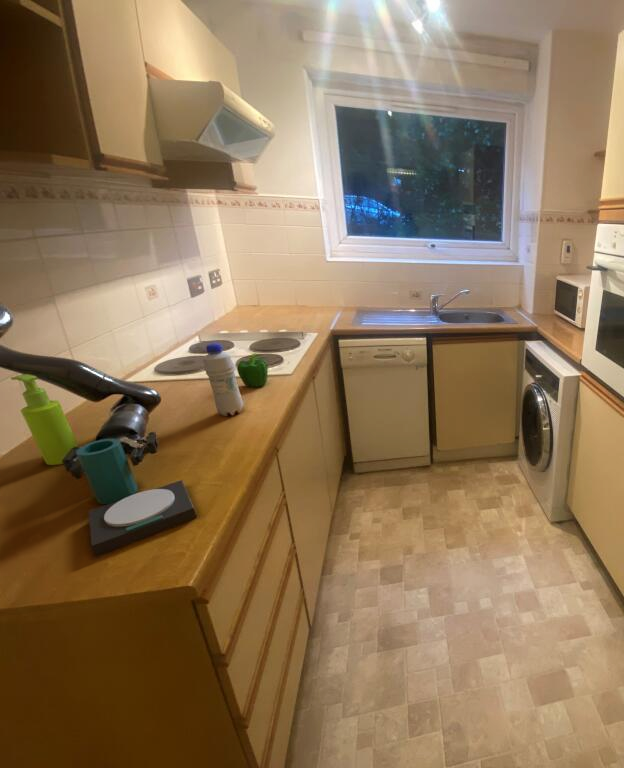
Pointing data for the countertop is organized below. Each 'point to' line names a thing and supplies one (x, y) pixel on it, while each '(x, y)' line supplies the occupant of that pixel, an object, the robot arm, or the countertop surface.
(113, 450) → the jar
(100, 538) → the scale
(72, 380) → the robot arm
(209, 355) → the bottle
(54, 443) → the soap dispenser
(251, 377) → the bell pepper
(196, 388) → the countertop surface
